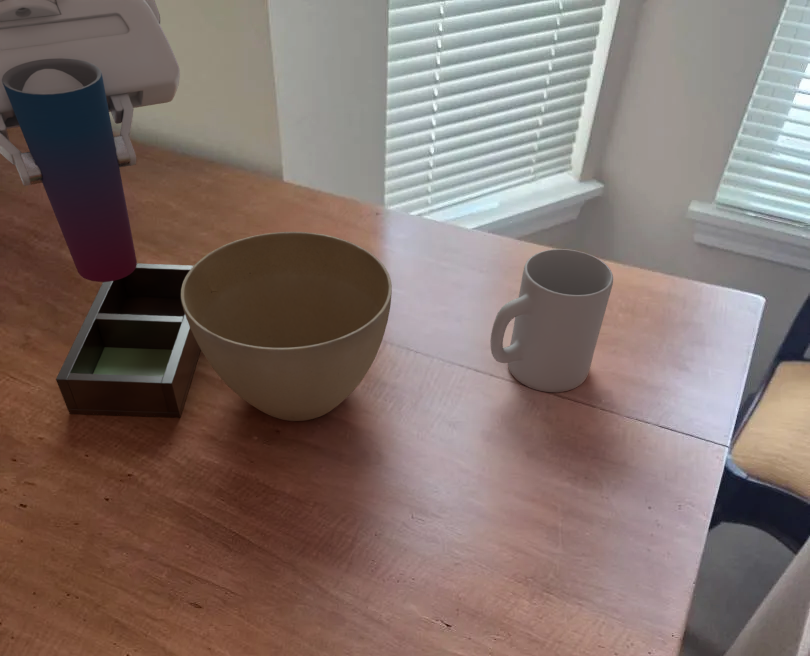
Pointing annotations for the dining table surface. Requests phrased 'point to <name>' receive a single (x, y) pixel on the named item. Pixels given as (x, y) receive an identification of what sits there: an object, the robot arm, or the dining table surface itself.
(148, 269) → the divided storage box
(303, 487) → the dining table surface
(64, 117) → the cup
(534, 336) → the mug
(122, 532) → the dining table surface
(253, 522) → the dining table surface
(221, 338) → the beige bowl
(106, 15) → the robot arm
